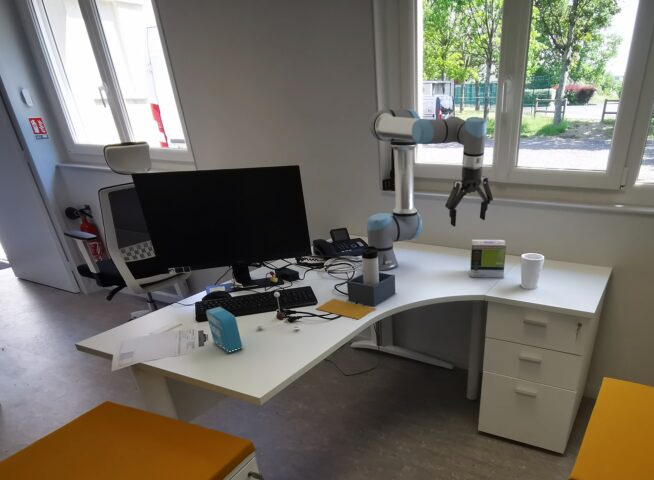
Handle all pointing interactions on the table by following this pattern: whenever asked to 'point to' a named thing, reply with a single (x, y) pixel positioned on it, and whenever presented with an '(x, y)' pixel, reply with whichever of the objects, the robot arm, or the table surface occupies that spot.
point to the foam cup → (530, 269)
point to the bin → (371, 290)
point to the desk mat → (345, 309)
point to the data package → (224, 329)
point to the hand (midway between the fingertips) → (467, 222)
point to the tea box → (487, 258)
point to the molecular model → (278, 315)
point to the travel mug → (370, 266)
